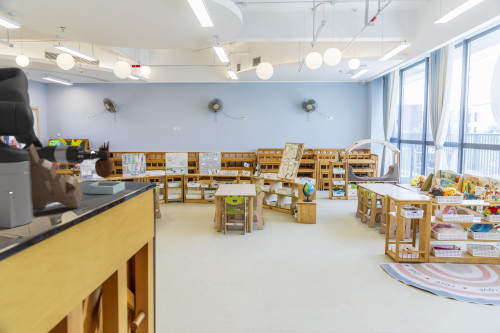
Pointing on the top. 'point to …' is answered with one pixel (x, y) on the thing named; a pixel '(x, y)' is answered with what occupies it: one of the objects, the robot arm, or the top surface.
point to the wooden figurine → (104, 163)
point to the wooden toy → (51, 184)
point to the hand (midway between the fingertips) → (110, 155)
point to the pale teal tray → (104, 187)
